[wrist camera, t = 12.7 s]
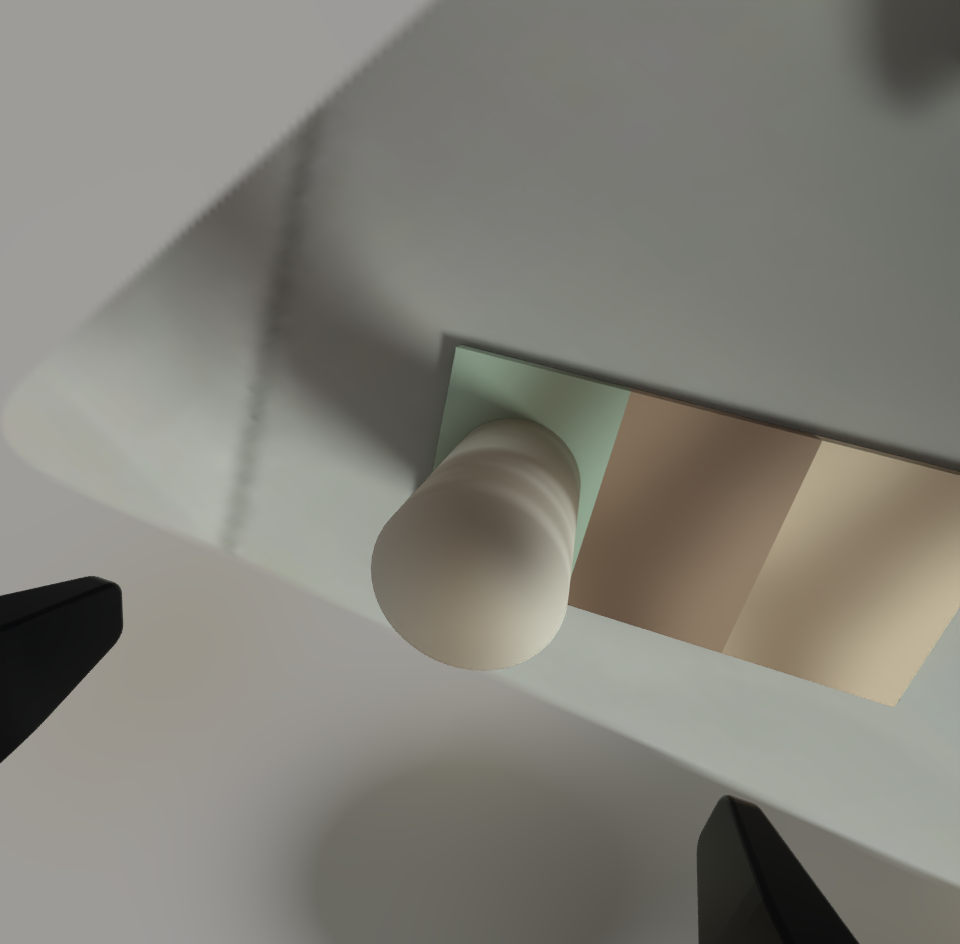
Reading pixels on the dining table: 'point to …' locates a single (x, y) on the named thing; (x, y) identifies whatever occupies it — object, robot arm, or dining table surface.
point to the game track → (738, 526)
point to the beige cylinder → (484, 549)
